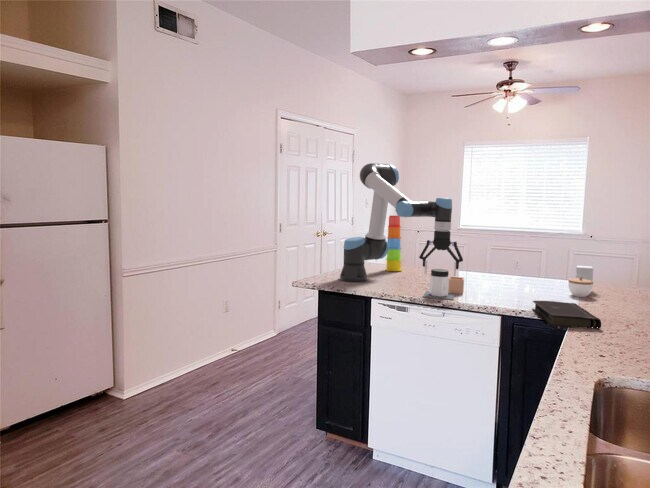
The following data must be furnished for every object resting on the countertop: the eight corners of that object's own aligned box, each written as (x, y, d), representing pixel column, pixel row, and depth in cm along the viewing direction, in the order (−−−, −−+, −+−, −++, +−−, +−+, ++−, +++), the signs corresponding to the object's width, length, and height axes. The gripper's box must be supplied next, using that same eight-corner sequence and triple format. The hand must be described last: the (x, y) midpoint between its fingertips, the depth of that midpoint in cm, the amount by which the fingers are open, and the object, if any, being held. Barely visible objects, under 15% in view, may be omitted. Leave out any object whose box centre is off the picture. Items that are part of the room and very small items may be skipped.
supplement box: (590, 289, 247) (592, 266, 245) (591, 292, 240) (593, 268, 239) (574, 288, 250) (576, 265, 248) (575, 291, 243) (577, 267, 242)
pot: (448, 292, 233) (448, 278, 232) (449, 290, 239) (449, 276, 239) (462, 294, 231) (463, 280, 230) (463, 291, 237) (464, 277, 236)
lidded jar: (589, 294, 236) (591, 276, 234) (594, 299, 225) (595, 279, 224) (565, 292, 239) (567, 274, 238) (569, 296, 229) (570, 278, 228)
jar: (438, 297, 220) (439, 272, 219) (425, 294, 227) (426, 269, 226) (451, 295, 225) (452, 270, 224) (439, 292, 232) (440, 268, 231)
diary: (576, 314, 199) (577, 302, 199) (600, 331, 175) (602, 318, 174) (529, 310, 202) (530, 299, 201) (547, 327, 177) (549, 314, 177)
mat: (422, 297, 222) (422, 296, 222) (426, 291, 235) (426, 290, 235) (453, 300, 217) (453, 299, 217) (455, 294, 230) (455, 293, 230)
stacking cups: (383, 271, 292) (385, 215, 288) (387, 268, 302) (389, 214, 298) (399, 272, 289) (402, 216, 285) (403, 269, 298) (405, 215, 294)
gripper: (414, 229, 223) (412, 273, 225) (469, 232, 215) (466, 278, 217) (417, 228, 230) (415, 271, 232) (470, 231, 222) (467, 275, 224)
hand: (440, 274), depth 225 cm, fingers open, 13 cm apart
